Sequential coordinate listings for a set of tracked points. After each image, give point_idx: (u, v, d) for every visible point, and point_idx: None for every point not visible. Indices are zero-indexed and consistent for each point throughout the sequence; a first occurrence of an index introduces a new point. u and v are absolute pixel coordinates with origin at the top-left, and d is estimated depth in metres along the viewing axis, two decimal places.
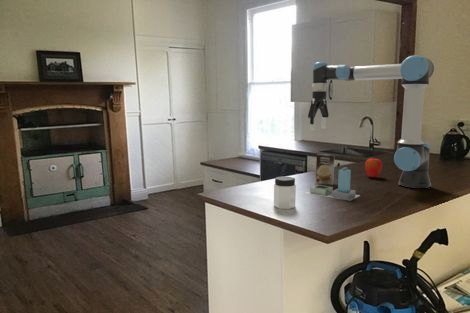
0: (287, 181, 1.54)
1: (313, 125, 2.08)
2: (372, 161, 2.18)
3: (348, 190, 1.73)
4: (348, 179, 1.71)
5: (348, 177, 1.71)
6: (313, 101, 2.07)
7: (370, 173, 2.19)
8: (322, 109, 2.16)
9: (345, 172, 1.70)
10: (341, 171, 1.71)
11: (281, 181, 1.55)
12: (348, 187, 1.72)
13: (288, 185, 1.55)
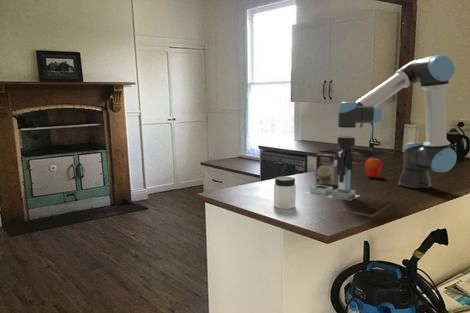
0: (287, 181, 1.54)
1: (343, 183, 1.70)
2: (372, 161, 2.18)
3: (348, 190, 1.73)
4: (348, 179, 1.71)
5: (348, 177, 1.71)
6: (339, 155, 1.66)
7: (370, 173, 2.19)
8: (347, 160, 1.73)
9: (345, 172, 1.70)
10: None
11: (281, 181, 1.55)
12: (348, 187, 1.72)
13: (288, 185, 1.55)
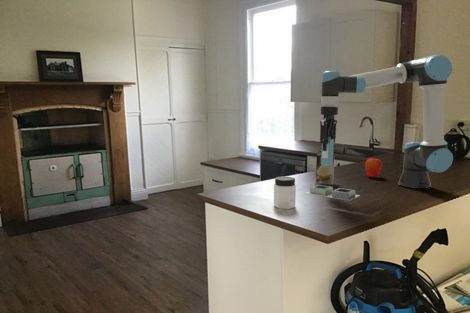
0: (287, 181, 1.54)
1: (326, 152, 1.74)
2: (372, 161, 2.18)
3: (331, 159, 1.76)
4: (331, 148, 1.75)
5: (331, 145, 1.75)
6: (322, 123, 1.69)
7: (370, 173, 2.19)
8: (330, 129, 1.76)
9: (328, 141, 1.73)
10: None
11: (281, 181, 1.55)
12: (331, 156, 1.76)
13: (288, 185, 1.55)
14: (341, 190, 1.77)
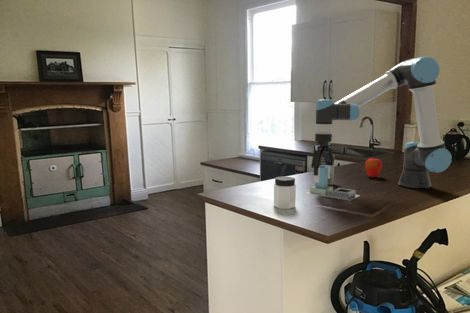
0: (287, 181, 1.54)
1: (317, 176, 1.75)
2: (372, 161, 2.18)
3: (325, 187, 1.79)
4: (325, 176, 1.78)
5: (326, 174, 1.78)
6: (316, 148, 1.72)
7: (370, 173, 2.19)
8: (326, 155, 1.80)
9: (322, 169, 1.77)
10: None
11: (281, 181, 1.55)
12: (326, 183, 1.79)
13: (288, 185, 1.55)
14: (341, 190, 1.77)
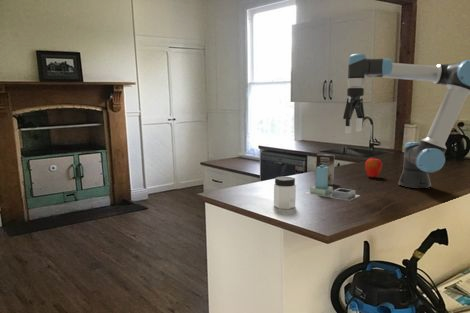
0: (287, 181, 1.54)
1: (349, 127, 1.79)
2: (372, 161, 2.18)
3: (325, 187, 1.79)
4: (325, 176, 1.78)
5: (326, 174, 1.78)
6: (349, 99, 1.78)
7: (370, 173, 2.19)
8: (358, 109, 1.86)
9: (322, 169, 1.77)
10: (319, 168, 1.78)
11: (281, 181, 1.55)
12: (326, 183, 1.79)
13: (288, 185, 1.55)
14: (341, 190, 1.77)
